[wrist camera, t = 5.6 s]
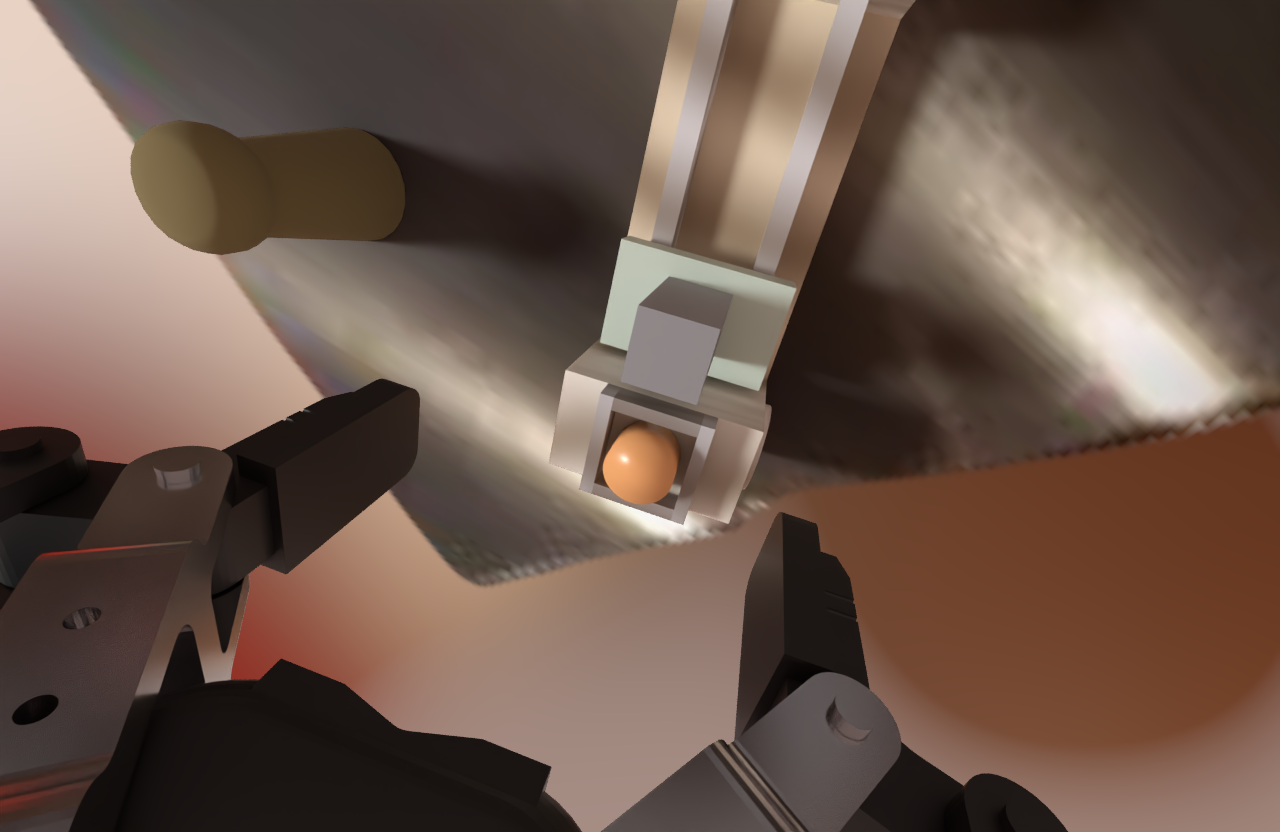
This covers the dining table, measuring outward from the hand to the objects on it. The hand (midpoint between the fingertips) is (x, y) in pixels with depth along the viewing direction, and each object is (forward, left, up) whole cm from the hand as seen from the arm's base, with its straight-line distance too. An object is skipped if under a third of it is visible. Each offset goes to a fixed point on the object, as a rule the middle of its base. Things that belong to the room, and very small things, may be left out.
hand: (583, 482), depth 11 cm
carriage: (0, 0, -16) cm, 16 cm away
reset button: (+5, 0, -12) cm, 13 cm away
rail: (-5, 0, -20) cm, 20 cm away
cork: (-1, -21, -20) cm, 29 cm away
